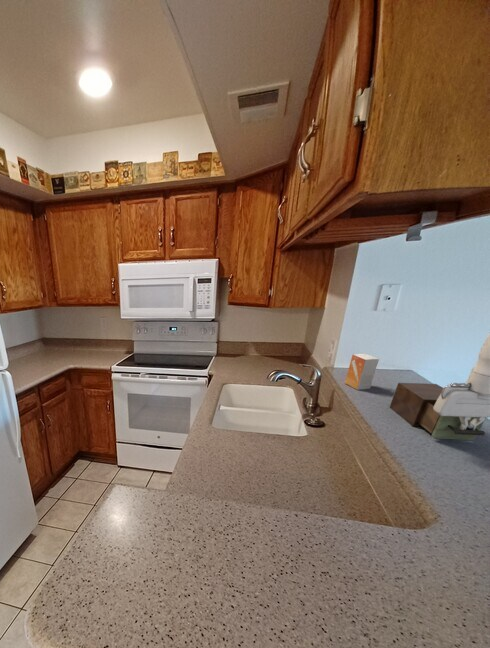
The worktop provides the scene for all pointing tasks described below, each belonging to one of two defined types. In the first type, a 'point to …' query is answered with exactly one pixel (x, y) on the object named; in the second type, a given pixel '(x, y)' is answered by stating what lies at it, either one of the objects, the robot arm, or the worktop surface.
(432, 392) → the cabinet
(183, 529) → the worktop surface
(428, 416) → the drawer
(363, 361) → the small box
